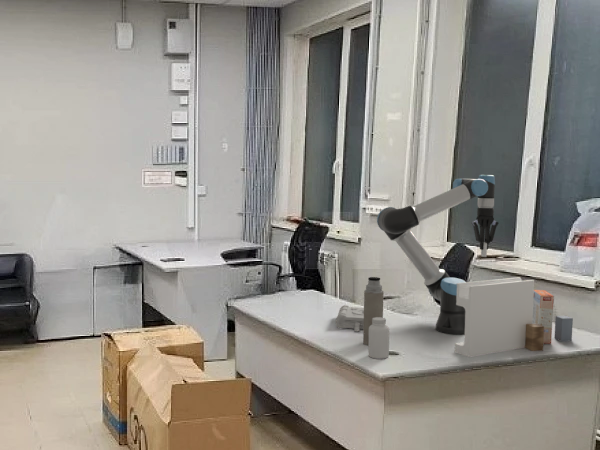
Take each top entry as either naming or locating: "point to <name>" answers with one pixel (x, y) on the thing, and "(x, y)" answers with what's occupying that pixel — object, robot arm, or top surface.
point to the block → (495, 315)
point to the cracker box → (543, 312)
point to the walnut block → (534, 337)
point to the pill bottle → (378, 339)
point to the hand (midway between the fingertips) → (483, 256)
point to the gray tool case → (350, 318)
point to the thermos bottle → (372, 305)
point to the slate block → (563, 328)
